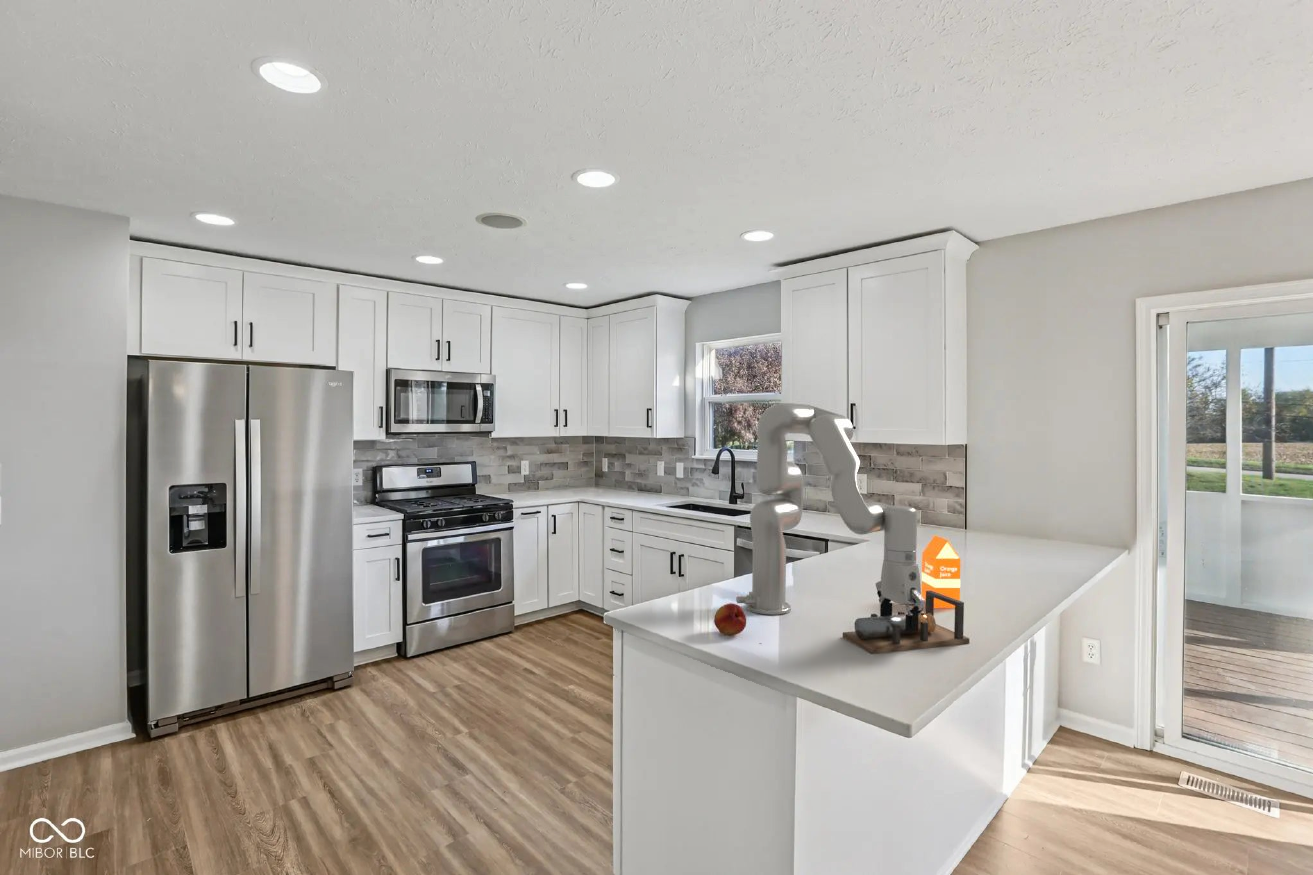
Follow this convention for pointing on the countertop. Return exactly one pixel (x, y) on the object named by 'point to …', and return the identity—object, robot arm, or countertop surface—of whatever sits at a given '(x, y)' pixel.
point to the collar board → (917, 641)
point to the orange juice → (941, 571)
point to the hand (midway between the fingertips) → (898, 624)
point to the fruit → (730, 619)
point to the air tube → (889, 625)
